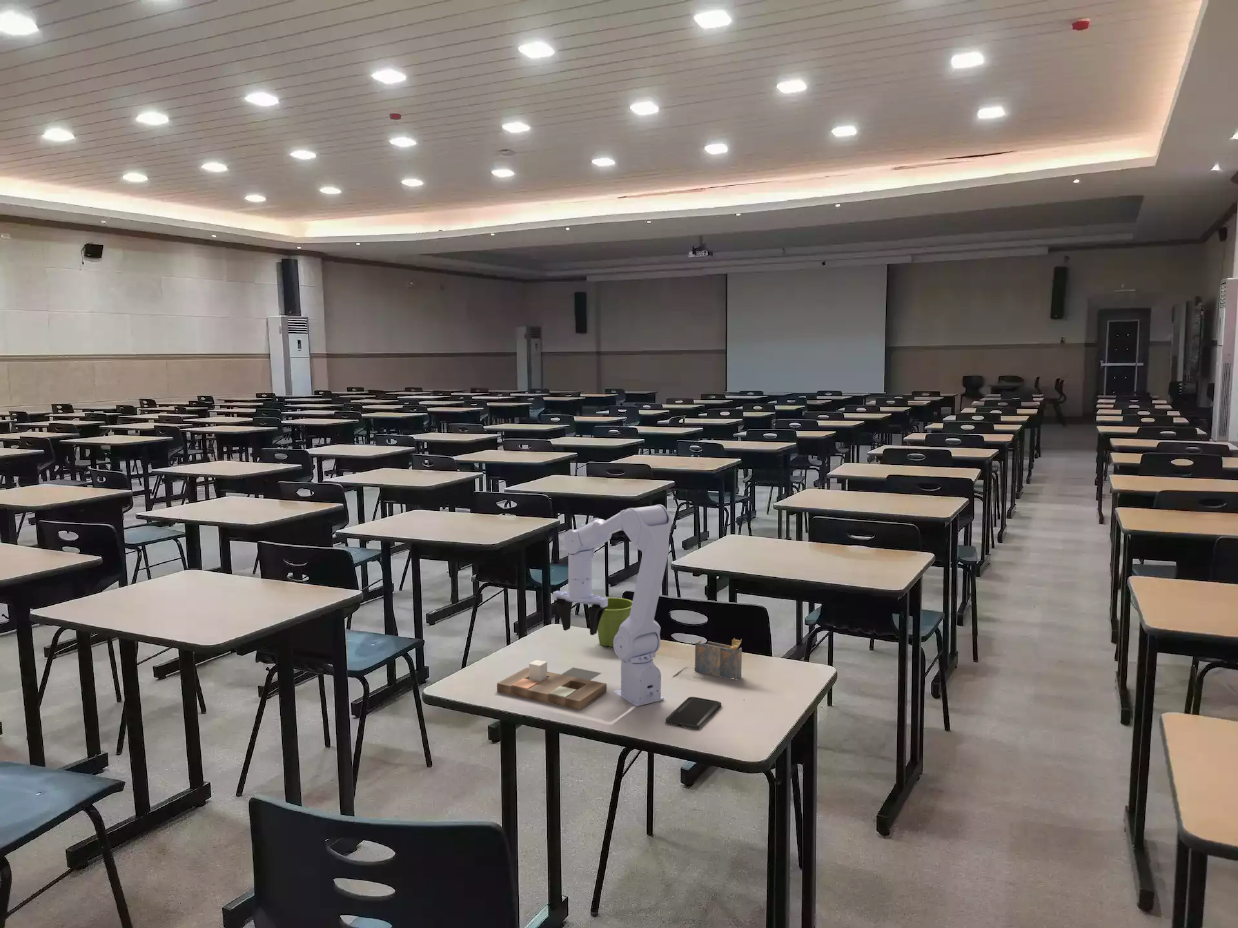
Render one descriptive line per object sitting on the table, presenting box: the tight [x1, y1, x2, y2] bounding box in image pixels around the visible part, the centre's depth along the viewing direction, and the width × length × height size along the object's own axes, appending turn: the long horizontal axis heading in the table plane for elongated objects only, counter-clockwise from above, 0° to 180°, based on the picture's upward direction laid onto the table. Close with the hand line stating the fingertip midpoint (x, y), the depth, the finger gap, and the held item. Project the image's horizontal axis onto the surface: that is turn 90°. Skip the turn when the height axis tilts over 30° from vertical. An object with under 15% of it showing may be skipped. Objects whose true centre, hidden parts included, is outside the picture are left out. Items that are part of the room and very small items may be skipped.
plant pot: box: [590, 597, 633, 648], centre depth 228 cm, size 12×12×11 cm
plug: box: [528, 659, 548, 682], centre depth 196 cm, size 3×3×6 cm
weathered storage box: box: [694, 637, 743, 680], centre depth 206 cm, size 11×3×10 cm, turn 57°
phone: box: [665, 696, 722, 731], centre depth 182 cm, size 8×1×15 cm
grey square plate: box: [561, 667, 602, 681], centre depth 203 cm, size 8×8×1 cm
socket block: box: [496, 667, 607, 711], centre depth 192 cm, size 22×12×3 cm, turn 62°
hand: (580, 631), depth 207 cm, fingers open, 7 cm apart
